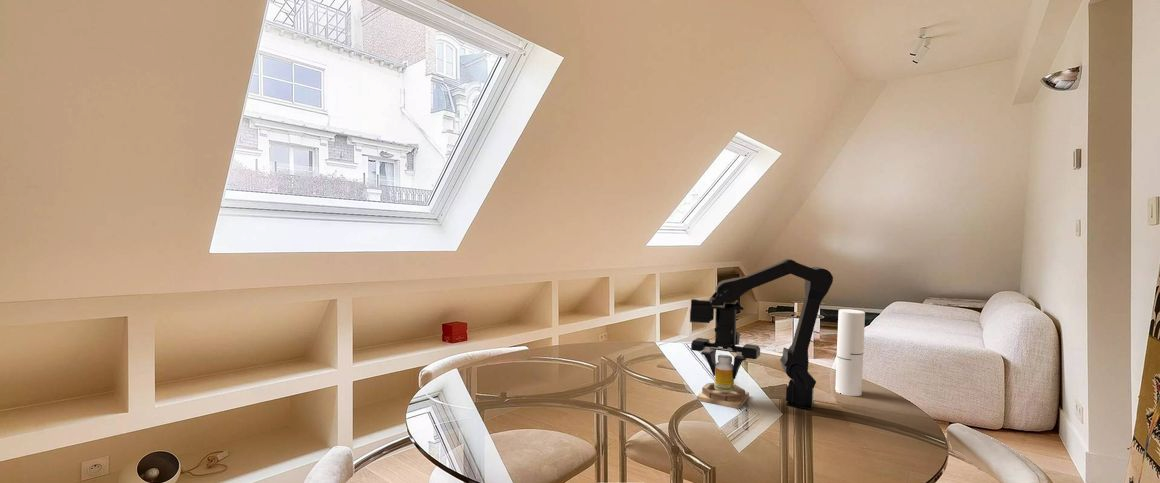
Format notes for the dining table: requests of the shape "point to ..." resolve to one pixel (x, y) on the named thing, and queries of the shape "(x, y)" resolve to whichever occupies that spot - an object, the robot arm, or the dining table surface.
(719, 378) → the supplement bottle
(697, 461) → the dining table surface
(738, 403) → the hub plate
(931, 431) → the dining table surface
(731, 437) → the dining table surface
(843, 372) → the cylindrical container
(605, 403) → the dining table surface
